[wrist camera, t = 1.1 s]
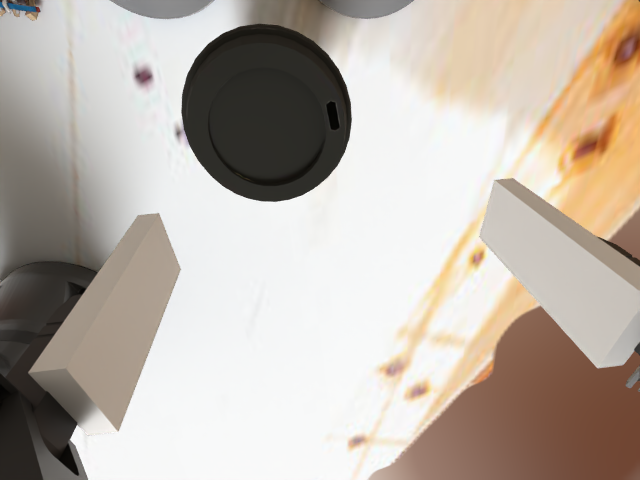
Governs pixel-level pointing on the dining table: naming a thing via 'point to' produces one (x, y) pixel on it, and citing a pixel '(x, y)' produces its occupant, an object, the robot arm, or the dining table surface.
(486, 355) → the dining table surface
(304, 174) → the coffee cup
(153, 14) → the grey flat disc
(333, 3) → the dish low side
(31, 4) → the woven mat
